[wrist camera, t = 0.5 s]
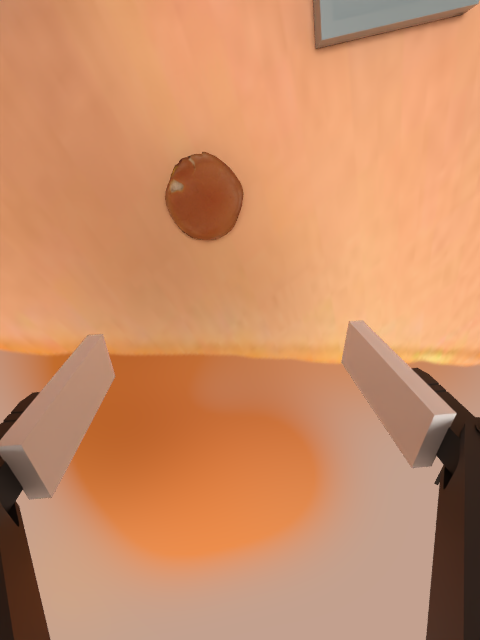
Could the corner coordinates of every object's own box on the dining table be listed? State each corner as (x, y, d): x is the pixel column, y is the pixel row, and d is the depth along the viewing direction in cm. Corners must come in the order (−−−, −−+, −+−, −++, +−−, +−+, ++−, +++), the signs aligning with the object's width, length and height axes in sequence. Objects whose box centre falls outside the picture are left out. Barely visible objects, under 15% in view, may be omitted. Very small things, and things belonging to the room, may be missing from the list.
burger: (237, 239, 38) (239, 246, 34) (170, 233, 38) (163, 239, 33) (244, 159, 34) (248, 156, 30) (169, 150, 33) (161, 145, 29)
